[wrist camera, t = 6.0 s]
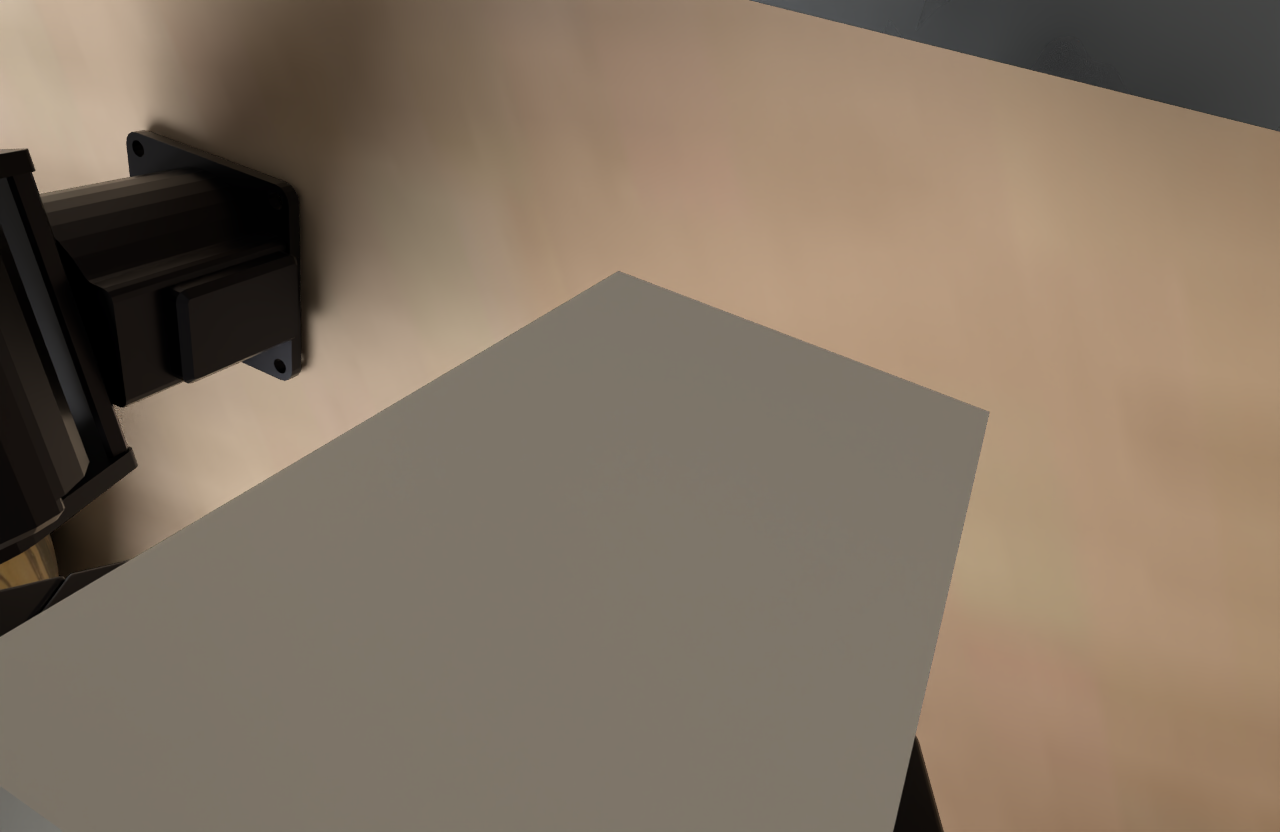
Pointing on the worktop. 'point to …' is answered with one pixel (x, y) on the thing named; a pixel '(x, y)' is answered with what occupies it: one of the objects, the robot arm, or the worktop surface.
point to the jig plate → (1102, 43)
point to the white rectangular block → (529, 605)
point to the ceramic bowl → (30, 565)
